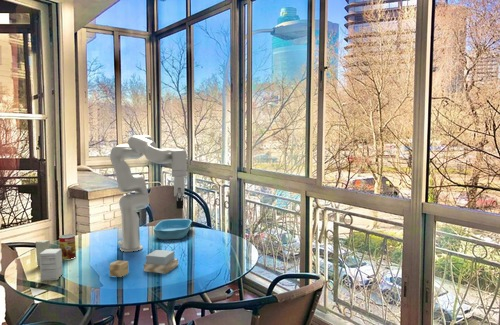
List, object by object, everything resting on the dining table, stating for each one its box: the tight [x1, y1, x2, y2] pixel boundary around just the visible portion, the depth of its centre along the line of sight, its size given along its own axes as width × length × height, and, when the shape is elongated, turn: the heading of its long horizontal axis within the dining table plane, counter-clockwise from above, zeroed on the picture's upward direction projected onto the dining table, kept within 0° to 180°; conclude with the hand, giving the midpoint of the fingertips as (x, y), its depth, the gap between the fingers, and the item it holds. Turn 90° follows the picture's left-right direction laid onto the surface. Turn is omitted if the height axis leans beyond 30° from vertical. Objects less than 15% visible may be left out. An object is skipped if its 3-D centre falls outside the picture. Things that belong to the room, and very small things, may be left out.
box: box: [35, 239, 51, 267], centre depth 201 cm, size 5×4×13 cm
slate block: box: [145, 249, 176, 265], centre depth 196 cm, size 10×10×4 cm
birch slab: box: [143, 258, 179, 275], centre depth 196 cm, size 12×12×4 cm
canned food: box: [58, 233, 77, 260], centre depth 213 cm, size 8×8×12 cm
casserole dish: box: [153, 218, 193, 240], centre depth 263 cm, size 37×22×7 cm, turn 2°
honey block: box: [108, 259, 130, 278], centre depth 187 cm, size 6×6×6 cm
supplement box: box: [39, 248, 64, 282], centre depth 184 cm, size 7×7×13 cm
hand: (180, 206), depth 205 cm, fingers open, 9 cm apart
